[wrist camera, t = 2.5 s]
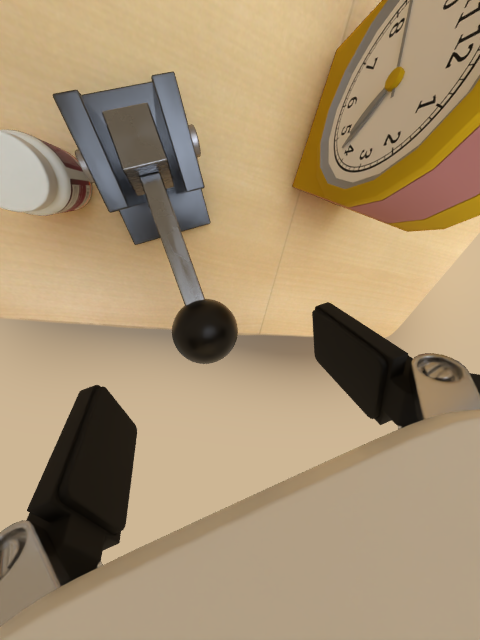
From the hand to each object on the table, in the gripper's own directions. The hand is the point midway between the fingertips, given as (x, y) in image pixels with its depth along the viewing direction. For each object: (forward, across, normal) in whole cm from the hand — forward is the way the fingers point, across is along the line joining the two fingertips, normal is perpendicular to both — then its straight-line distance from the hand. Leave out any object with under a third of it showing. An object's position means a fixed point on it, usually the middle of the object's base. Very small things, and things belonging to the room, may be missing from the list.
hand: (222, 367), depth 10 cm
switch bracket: (+19, 0, -9) cm, 21 cm away
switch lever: (+7, 0, -3) cm, 8 cm away
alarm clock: (+19, -20, -8) cm, 29 cm away
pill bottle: (+19, +8, -10) cm, 23 cm away
